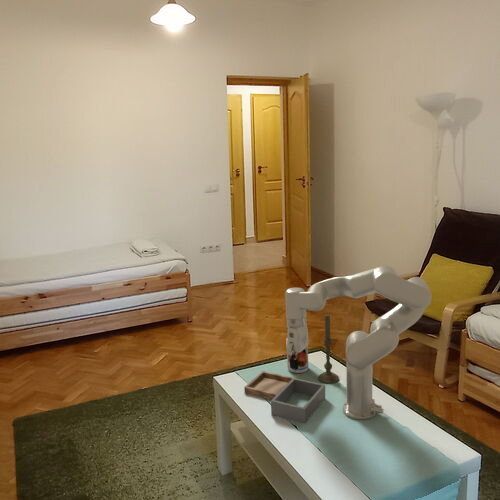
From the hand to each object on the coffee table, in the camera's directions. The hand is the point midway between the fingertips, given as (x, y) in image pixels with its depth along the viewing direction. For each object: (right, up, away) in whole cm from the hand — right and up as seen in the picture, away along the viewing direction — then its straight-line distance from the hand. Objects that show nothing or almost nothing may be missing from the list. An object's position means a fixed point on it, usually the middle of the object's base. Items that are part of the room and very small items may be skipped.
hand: (298, 363), depth 185 cm
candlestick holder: (+16, -13, +25) cm, 32 cm away
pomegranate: (0, -2, 0) cm, 2 cm away
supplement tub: (+3, -11, +35) cm, 37 cm away
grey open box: (+1, -18, +4) cm, 18 cm away
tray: (-10, -15, +19) cm, 26 cm away
